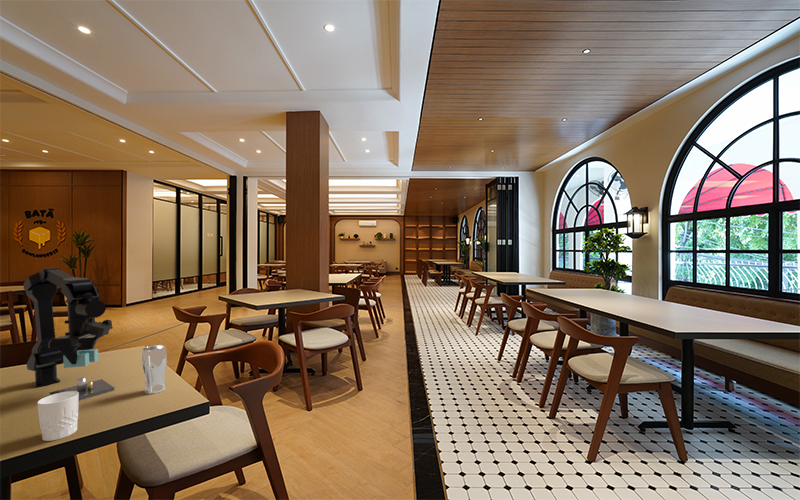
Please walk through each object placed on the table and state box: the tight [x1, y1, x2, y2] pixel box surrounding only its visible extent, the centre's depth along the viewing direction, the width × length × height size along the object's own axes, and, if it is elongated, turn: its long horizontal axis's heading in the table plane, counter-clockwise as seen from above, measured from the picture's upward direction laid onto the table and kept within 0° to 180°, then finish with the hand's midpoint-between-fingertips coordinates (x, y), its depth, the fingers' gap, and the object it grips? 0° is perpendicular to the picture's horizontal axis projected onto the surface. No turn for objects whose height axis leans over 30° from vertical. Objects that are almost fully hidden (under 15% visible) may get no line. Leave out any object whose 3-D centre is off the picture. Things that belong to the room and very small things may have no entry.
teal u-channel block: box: [63, 348, 99, 369], centre depth 120 cm, size 6×6×4 cm
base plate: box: [48, 376, 115, 401], centre depth 120 cm, size 14×14×5 cm
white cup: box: [36, 391, 80, 442], centre depth 93 cm, size 8×8×10 cm
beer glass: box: [141, 344, 168, 395], centre depth 120 cm, size 7×7×15 cm
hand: (81, 360), depth 120 cm, fingers closed on teal u-channel block, 6 cm apart
